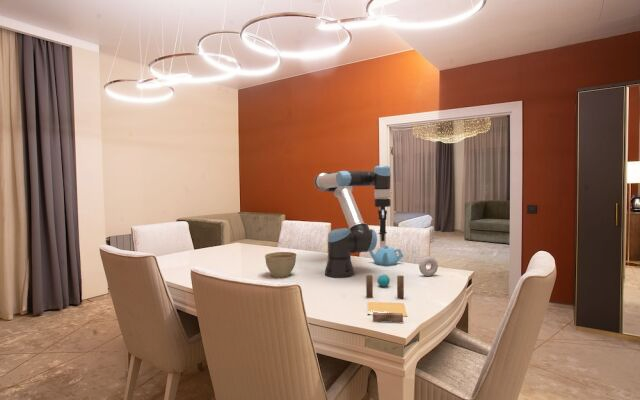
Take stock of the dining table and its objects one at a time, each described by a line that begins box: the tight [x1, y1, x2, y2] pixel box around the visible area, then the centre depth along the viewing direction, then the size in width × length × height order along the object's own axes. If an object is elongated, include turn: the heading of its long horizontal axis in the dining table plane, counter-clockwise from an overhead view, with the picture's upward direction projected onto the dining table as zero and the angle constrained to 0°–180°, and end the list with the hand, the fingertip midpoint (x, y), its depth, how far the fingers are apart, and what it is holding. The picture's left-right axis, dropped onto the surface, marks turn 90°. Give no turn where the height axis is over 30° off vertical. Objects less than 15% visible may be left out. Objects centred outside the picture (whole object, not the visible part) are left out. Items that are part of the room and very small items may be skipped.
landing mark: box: [366, 301, 408, 317], centre depth 137 cm, size 14×14×1 cm
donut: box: [418, 255, 439, 277], centre depth 184 cm, size 10×3×10 cm, turn 102°
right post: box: [396, 274, 405, 300], centre depth 150 cm, size 3×3×9 cm
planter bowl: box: [264, 251, 297, 278], centre depth 190 cm, size 16×16×11 cm
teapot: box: [368, 244, 404, 267], centre depth 214 cm, size 15×15×11 cm
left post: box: [365, 274, 374, 299], centre depth 152 cm, size 3×3×9 cm
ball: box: [377, 273, 391, 288], centre depth 167 cm, size 6×6×6 cm
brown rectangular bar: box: [372, 312, 404, 323], centre depth 125 cm, size 10×2×2 cm, turn 82°
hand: (382, 247), depth 176 cm, fingers closed
